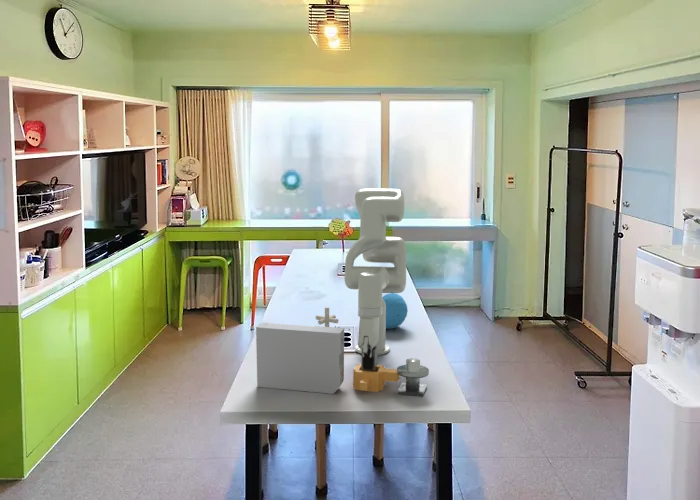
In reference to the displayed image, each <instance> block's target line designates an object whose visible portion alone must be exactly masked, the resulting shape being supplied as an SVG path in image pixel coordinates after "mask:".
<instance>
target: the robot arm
mask: <svg viewBox="0 0 700 500" xmlns="http://www.w3.org/2000/svg"><path fill="white" fill-rule="evenodd" d="M354 200H355V207H356V210H357V213H358V215H359V218H360V219H359V220H360V221H359V223H360V225H359V237H358V239H357V240H356V241H355V242H354V243H353V244H352V245H351V247H350V248H349V250H348V251H347V253H346V256H345V261H344V284H345V286H346V288H348V289H350V290H357V291H358V292H357V294H358V295H357V298H358V299H357V300H358V301H357V306H358V307H357V316H358V317H359V323H358V324H359V325H358V336H357V337H358V338H357V339H358V340H357V342H358V343H357V345H355V351H356V353H359V354H360V355H362V347H363V369H371V370H372V369H373V357H372V349H373V348H374V347H377V356H381V355H385V354H388V353H389V352H390V349H391V348H390V346H389V345H388V344H386V336H387V335H386V332H387V330H386V304H385V301H384V300H383V298H382V297H383V294H390V293H395V294H401V293H403V292H404V291H405V289H406V285H407V246H406V245H407V244H406V242H405V240H404V239H403V238H402V237H398V236H387V233H386V232H387V224H386V223H399V222H401V221H402V220H403V218H404V215H405V195H404V192H403V191H402V190H401V189H399V188H398V189H397V188H362V189H359V190H357V191H356V192H355V195H354ZM360 255H362V258H363V260H364V261H365V262H367V263H373V264H392V265H393V266H374V265H373V266H368V265H367V266H363V265H362V266H360V265H359V266H357V265H356V266H355V265H354V263H355V260H356V259H357V258H358V257H359V256H360ZM368 346H371V347H368ZM368 350H370V351H368Z"/></svg>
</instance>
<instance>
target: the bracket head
mask: <svg viewBox="0 0 700 500" xmlns="http://www.w3.org/2000/svg"><path fill="white" fill-rule="evenodd" d="M384 366H385V365H383V364H377V372H373V371H363V370H361V363H360V364H356V365H355V367H354V368H353V369H352V370H353V373H352V374H353V377H352V388H353V389H354V390H355V391H363V392H372V393H373V392H374V393H379V391H383V390H384V388H385V386H386V382H392V383H393V382H394V383H398V382H399V381H400V376H399V375H398V374H397V368H396V369H395V368H386V367H384Z"/></svg>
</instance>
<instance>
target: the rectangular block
mask: <svg viewBox="0 0 700 500" xmlns="http://www.w3.org/2000/svg"><path fill="white" fill-rule="evenodd" d="M368 347H371V346H368ZM368 351H370V350H368ZM372 357H373V369H372V370H371V369H363V347H362V354H361V360H360V361H361V362H360V364H361V370H363V371H373V372H377V365H378V355H377V347H374V348H373V349H372Z"/></svg>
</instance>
